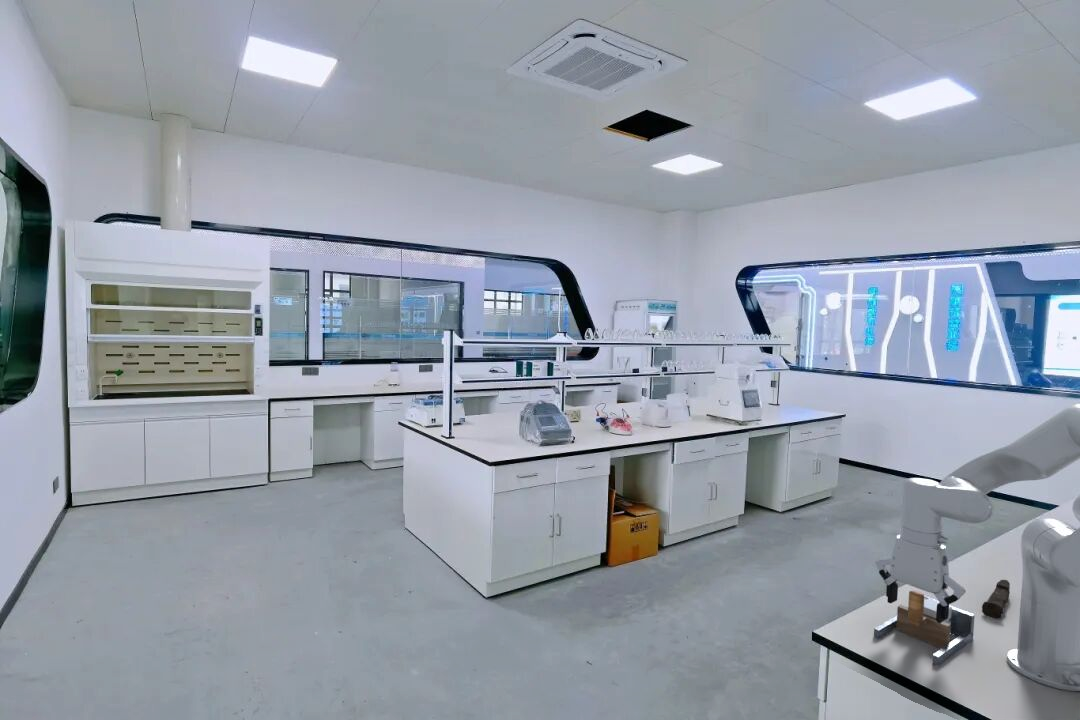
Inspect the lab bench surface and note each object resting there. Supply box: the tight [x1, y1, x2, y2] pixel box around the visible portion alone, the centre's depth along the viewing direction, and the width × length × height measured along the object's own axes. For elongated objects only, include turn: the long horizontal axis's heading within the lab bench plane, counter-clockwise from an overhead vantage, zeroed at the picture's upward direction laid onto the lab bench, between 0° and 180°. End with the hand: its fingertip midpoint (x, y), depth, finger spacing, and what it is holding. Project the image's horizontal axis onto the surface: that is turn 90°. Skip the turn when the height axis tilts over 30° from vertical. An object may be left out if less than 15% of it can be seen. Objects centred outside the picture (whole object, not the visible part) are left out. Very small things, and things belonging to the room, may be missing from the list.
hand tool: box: [981, 579, 1011, 620], centre depth 140 cm, size 19×4×5 cm, turn 129°
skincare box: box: [923, 595, 952, 631], centre depth 126 cm, size 6×6×7 cm
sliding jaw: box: [895, 590, 951, 649], centre depth 123 cm, size 6×10×12 cm, turn 33°
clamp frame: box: [873, 595, 976, 667], centre depth 125 cm, size 18×13×6 cm
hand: (915, 610), depth 122 cm, fingers open, 9 cm apart
